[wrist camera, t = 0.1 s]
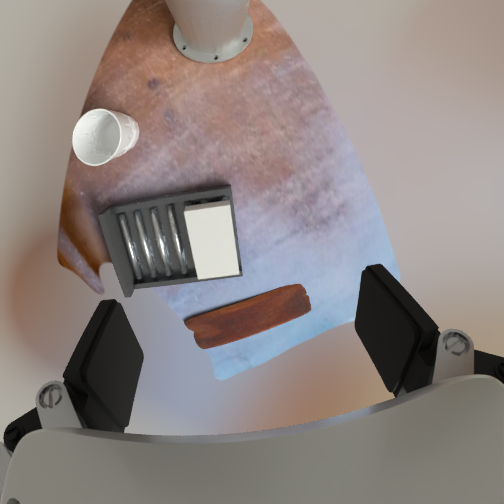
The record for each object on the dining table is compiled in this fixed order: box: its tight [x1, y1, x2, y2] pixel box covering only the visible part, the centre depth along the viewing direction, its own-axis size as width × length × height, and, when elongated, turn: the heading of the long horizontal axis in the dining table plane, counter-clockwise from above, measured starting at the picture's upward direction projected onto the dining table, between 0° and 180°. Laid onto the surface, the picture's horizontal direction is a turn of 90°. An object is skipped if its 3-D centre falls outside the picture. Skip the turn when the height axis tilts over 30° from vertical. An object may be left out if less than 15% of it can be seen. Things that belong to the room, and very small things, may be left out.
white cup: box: [72, 109, 139, 166], centre depth 34 cm, size 8×8×10 cm
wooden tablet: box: [184, 284, 311, 349], centre depth 56 cm, size 27×10×2 cm, turn 109°
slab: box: [184, 200, 239, 280], centre depth 44 cm, size 12×7×3 cm, turn 6°
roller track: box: [98, 185, 243, 297], centre depth 45 cm, size 16×22×5 cm
